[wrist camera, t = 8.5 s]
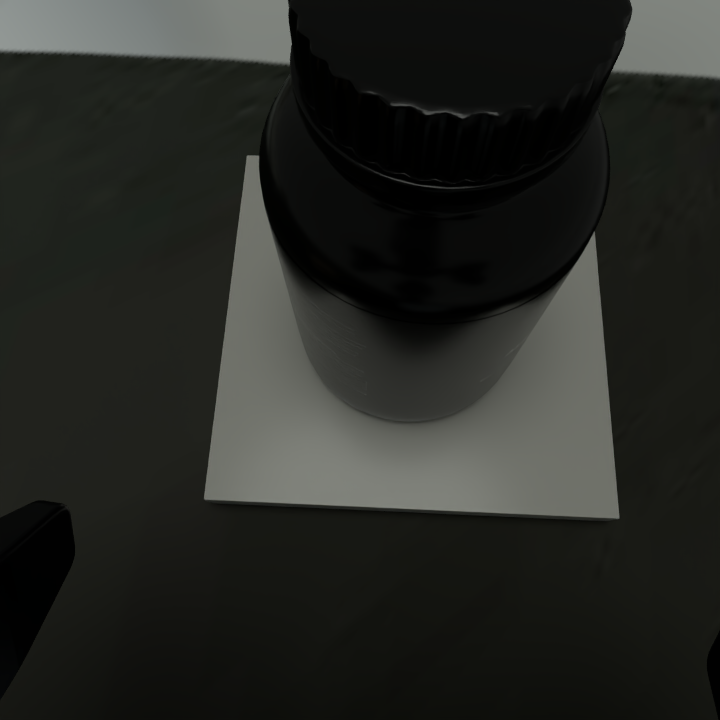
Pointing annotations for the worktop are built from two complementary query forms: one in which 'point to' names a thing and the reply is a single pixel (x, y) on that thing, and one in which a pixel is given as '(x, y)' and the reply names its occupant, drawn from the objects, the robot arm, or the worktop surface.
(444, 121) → the supplement bottle
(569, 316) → the plate
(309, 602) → the worktop surface
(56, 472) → the worktop surface
